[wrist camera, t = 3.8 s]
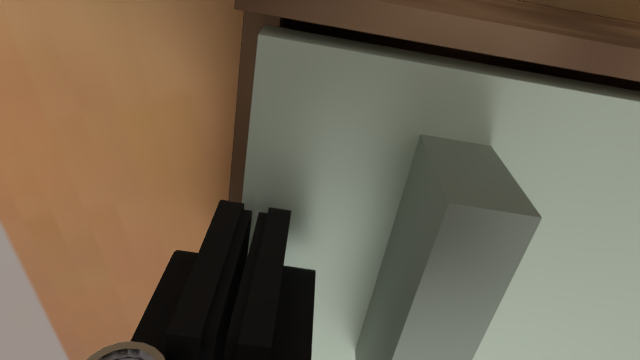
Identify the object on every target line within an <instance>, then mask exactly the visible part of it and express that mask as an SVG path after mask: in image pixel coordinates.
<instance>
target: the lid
mask: <svg viewBox="0 0 640 360" xmlns="http://www.w3.org/2000/svg"><path fill="white" fill-rule="evenodd" d="M242 203H244V210H251V211H252V219H251V228H250V237H249V246H248V252H249V248H250V244H251V240H252V237H253V233H254V229H255V225H256V221H257V217H258V214H259V212H264V213H268V209H269V207H272V208H278V209H285V210H291V218H290V225H289V232H288V238H287V245H286V252H285V259H284V266H291V267H298V268H304V269H311V270H315V271H316V278H315V298H314V317H313V337H312V356H311V360H640V91H634V90H629V89H623V88H617V87H612V86H606V85H601V84H595V83H589V82H584V81H578V80H572V79H567V78H561V77H556V76H550V75H544V74H539V73H533V72H528V71H522V70H516V69H511V68H505V67H499V66H494V65H488V64H483V63H477V62H471V61H466V60H460V59H455V58H449V57H443V56H438V55H432V54H426V53H421V52H415V51H410V50H404V49H398V48H393V47H387V46H382V45H376V44H370V43H365V42H359V41H353V40H348V39H342V38H337V37H331V36H325V35H320V34H314V33H309V32H303V31H297V30H292V29H286V28H280V27H275V26H269V25H264V27H263V28H262V30H261V31H260V33H259V34H258V42H257V52H256V62H255V72H254V83H253V93H252V103H251V113H250V123H249V133H248V143H247V154H246V164H245V174H244V184H243V194H242ZM247 256H248V255H247Z"/></svg>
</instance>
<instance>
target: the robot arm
mask: <svg viewBox="0 0 640 360" xmlns="http://www.w3.org/2000/svg"><path fill="white" fill-rule="evenodd" d="M290 218H291V210H285V209H278V208H272V207H269V209H268V213H264V212H259V214H258V217H257V221H256V225H255V229H254V233H253V237H252V240H251V244H250V248H249V252H248V246H249V237H250V228H251V219H252V211H251V210H244V203H239V202H232V201H226V200H220V202H219V204H218V207H217V209H216V211H215V214H214V216H213V219H212V221H211V224H210V226H209V228H208V231H207V233H206V236H205V238H204V241H203V243H202V245H201V248H200V250H199V253H194V252H187V251H181V250H176V251H175V252H174V254H173V255H172V257H171V259H170V261H169V263H168V265H167V267H166V269H165V271H164V273H163V275H162V278H161V280H160V282H159V284H158V286H157V288H156V290H155V292H154V294H153V296H152V298H151V300H150V302H149V304H148V306H147V308H146V310H145V313H144V315H143V317H142V319H141V321H140V323H139V325H138V327H137V329H136V331H135V333H134V335H133V337H132V339H131V341H129V342H121V343H116V344H113V345H110V346H107V347H104V348H102V349H101V350H99V351H97V352H96V353H94V354H92V355H91V356H90V357H89V358H88V359H87V360H311V356H312V337H313V317H314V298H315V278H316V271H315V270H311V269H304V268H298V267H291V266H284V259H285V252H286V245H287V238H288V232H289V225H290ZM247 255H248V256H247Z"/></svg>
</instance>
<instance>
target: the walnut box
mask: <svg viewBox="0 0 640 360" xmlns="http://www.w3.org/2000/svg"><path fill="white" fill-rule="evenodd" d="M234 9H238V10H243V11H244V17H243V29H242V42H241V54H240V66H239V78H238V91H237V103H236V115H235V127H234V140H233V152H232V164H231V176H230V189H229V201H232V202H239V203H242V194H243V184H244V174H245V164H246V154H247V143H248V133H249V123H250V113H251V103H252V93H253V83H254V72H255V62H256V52H257V42H258V34H259V33H260V31H261V30H262V28H263V27H264V25H269V26H275V27H280V28H286V29H292V30H297V31H303V32H309V33H314V34H320V35H325V36H331V37H337V38H342V39H348V40H353V41H359V42H365V43H370V44H376V45H382V46H387V47H393V48H398V49H404V50H410V51H415V52H421V53H426V54H432V55H438V56H443V57H449V58H455V59H460V60H466V61H471V62H477V63H483V64H488V65H494V66H499V67H505V68H511V69H516V70H522V71H528V72H533V73H539V74H544V75H550V76H556V77H561V78H567V79H572V80H578V81H584V82H589V83H595V84H601V85H606V86H612V87H617V88H623V89H629V90H634V91H640V23H635V22H630V21H624V20H619V19H614V18H608V17H603V16H598V15H592V14H587V13H582V12H576V11H571V10H566V9H560V8H555V7H550V6H544V5H539V4H534V3H528V2H523V1H518V0H235V8H234Z"/></svg>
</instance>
